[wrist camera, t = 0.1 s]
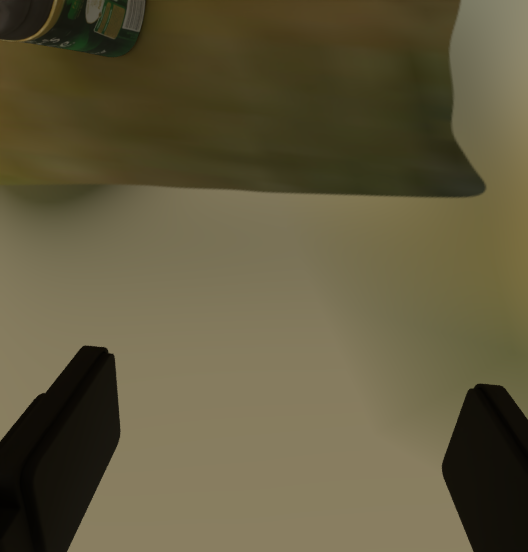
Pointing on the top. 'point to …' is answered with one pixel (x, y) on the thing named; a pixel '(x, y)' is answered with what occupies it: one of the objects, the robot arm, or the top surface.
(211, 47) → the top surface
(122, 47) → the coffee jar
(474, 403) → the robot arm
